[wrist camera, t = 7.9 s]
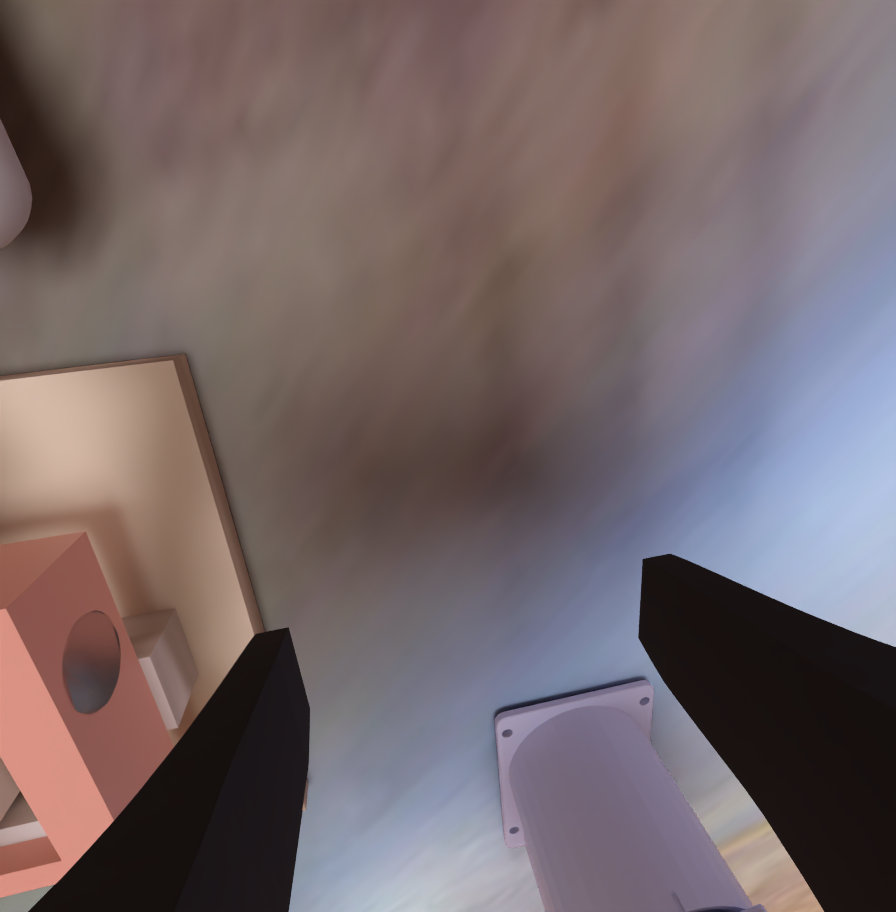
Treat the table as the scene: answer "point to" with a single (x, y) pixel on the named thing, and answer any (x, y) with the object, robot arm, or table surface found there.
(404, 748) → the table surface
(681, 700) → the robot arm
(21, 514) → the architectural building model
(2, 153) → the clip-on lamp
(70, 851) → the u-shaped bracket
